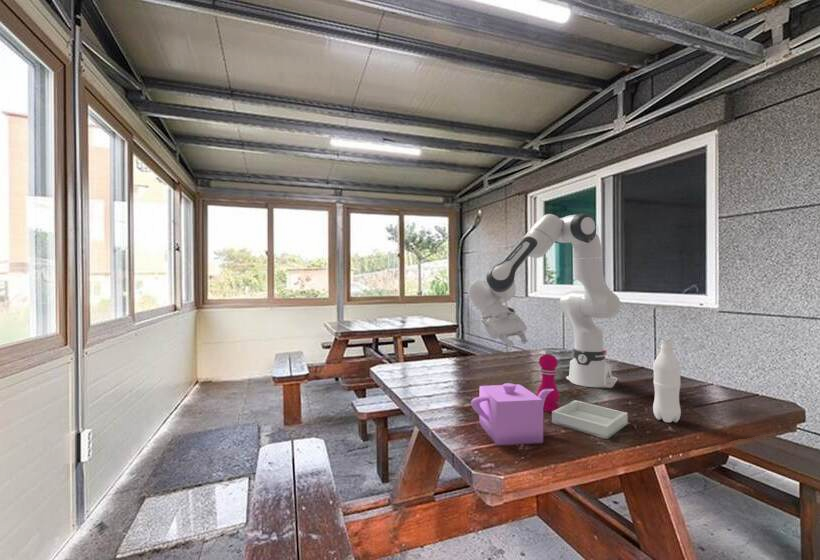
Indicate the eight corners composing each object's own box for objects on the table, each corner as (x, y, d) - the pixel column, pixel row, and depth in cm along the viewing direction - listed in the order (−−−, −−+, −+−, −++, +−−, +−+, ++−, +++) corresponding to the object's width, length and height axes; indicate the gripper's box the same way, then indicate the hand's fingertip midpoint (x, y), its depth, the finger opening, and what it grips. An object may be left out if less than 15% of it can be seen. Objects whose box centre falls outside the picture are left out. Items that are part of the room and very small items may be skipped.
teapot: (567, 441, 103) (568, 390, 103) (479, 446, 100) (479, 394, 100) (541, 420, 118) (541, 375, 118) (463, 424, 115) (463, 378, 115)
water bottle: (685, 425, 114) (685, 342, 114) (659, 423, 115) (659, 341, 115) (673, 416, 121) (674, 338, 121) (649, 415, 122) (649, 338, 122)
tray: (575, 410, 127) (575, 400, 126) (627, 424, 115) (627, 412, 115) (551, 422, 116) (551, 411, 116) (606, 439, 104) (606, 426, 104)
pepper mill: (559, 413, 124) (559, 352, 124) (536, 410, 126) (536, 351, 126) (559, 406, 130) (559, 348, 130) (537, 404, 133) (537, 347, 133)
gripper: (484, 311, 135) (508, 342, 128) (516, 308, 149) (539, 336, 142) (474, 323, 139) (497, 353, 131) (506, 318, 152) (528, 346, 145)
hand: (519, 344), depth 137 cm, fingers open, 8 cm apart
